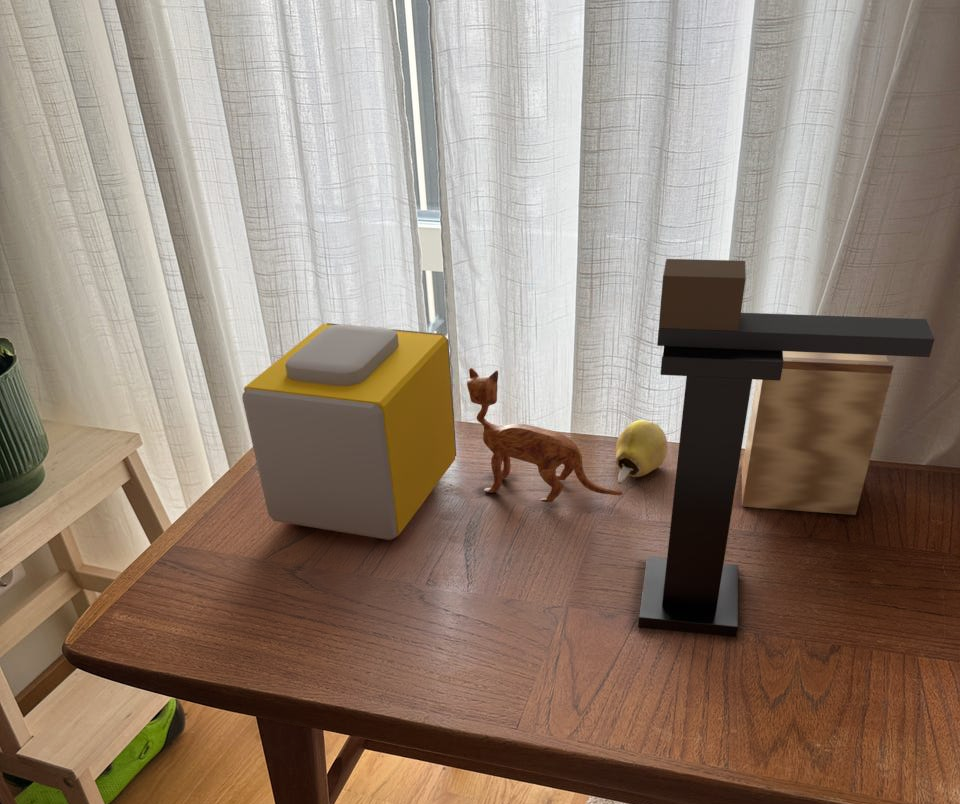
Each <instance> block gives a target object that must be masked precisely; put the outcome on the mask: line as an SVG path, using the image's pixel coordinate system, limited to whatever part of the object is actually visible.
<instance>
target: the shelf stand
mask: <svg viewBox="0 0 960 804" xmlns="http://www.w3.org/2000/svg"><path fill="white" fill-rule="evenodd" d="M662 347H663V348H662V355H661V364H660V375H661V376H675V377H686V378H685V385H684V397H683V404H682V405H683V406H682V415H681V422H680V423H681V424H680V433H679V441H678V442H679V443H678V452H677V461H676V470H675V471H676V472H675V481H674V489H673V498H672V499H673V500H672V509H671V519H670V528H669V535H668V536H669V537H668V545H667V546H668V547H667V554H666V555H667V556H666V557H665V558H664V557H655V556H654V557H653V556H647V557H646V560H645V561H646V563H645V569H644V576H643V583H642V591H641V598H640V599H641V600H640V605H639V614H638V623H637V627H638V628H643V629H655V630H663V631H674V632H684V633H695V634H705V635H713V636H714V635H715V636H724V637H733V638H734V637H735V638H736V637H737V636H738V630H739V564H734V563H725V557H726V551H727V545H728V537H729V531H730V526H731V517H732V511H733V506H734V499H735V492H736V486H737V479H738V475H739V474H738V473H739V469H740V468H739V466H740V460H741V453H742V447H743V441H744V436H745V435H744V434H745V428H746V421H747V415H748V410H749V403H750V395H751V389H752V383H753V380H756V379H757V380H777V381H780V380H781V374H782V369H783V363H784V362H783V351H769V350H745V349H721V348H698V347H674V346H662Z"/></svg>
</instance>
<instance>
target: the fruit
mask: <svg viewBox="0 0 960 804" xmlns="http://www.w3.org/2000/svg"><path fill="white" fill-rule="evenodd" d="M668 447H669V446H668V440H667V436H666V433H665V432H664V430H663V429H662V428H661V426H660V425H659V424H658V423H655V422H653V421H650V420H647V419H638V420H635V421H633V422H631V423H629V424H628V425H627V426H625V428H624V429H623V430H622V431H621V432H620V434H619V436H618V438H617V441H616V444H615V464H616V466H617V469H619V470H620V471H619V472H618V475H617V476H618V477H617V484H619V485H622V483H624V481H625V480H626V479H627V478H628V476H629V477H631V478H640V477H643V476H646V475H648V474H650V473H651V472H652V471H654V470H656V469H657V468H659V467H660V466H661V465H662V464H663V463H664V462H665V460H666V458H667V456H668Z"/></svg>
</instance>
